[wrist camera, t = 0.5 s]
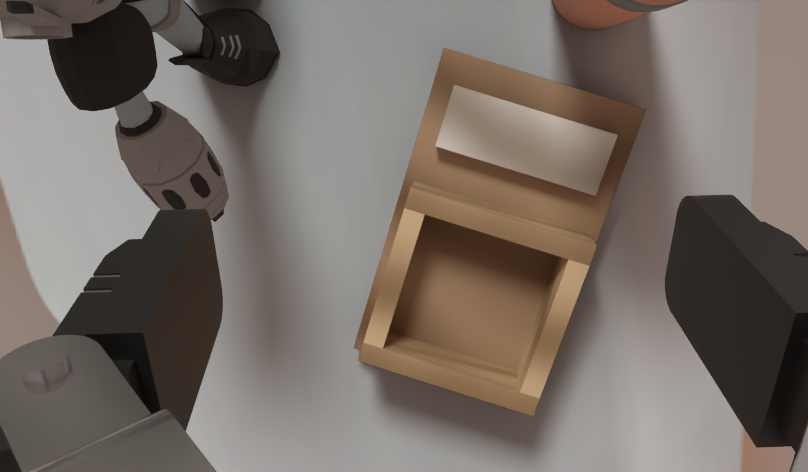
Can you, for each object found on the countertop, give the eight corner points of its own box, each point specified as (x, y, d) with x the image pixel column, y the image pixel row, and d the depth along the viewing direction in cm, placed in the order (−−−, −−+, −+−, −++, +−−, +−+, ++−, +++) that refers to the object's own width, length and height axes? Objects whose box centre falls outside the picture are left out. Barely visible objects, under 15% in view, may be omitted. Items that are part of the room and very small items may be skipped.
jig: (445, 48, 36) (441, 45, 32) (638, 108, 36) (659, 112, 32) (358, 338, 39) (345, 366, 36) (532, 393, 39) (539, 428, 35)
